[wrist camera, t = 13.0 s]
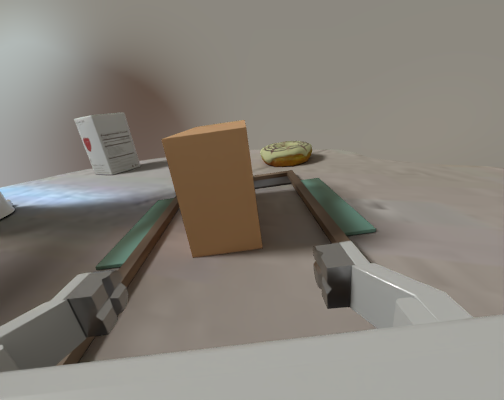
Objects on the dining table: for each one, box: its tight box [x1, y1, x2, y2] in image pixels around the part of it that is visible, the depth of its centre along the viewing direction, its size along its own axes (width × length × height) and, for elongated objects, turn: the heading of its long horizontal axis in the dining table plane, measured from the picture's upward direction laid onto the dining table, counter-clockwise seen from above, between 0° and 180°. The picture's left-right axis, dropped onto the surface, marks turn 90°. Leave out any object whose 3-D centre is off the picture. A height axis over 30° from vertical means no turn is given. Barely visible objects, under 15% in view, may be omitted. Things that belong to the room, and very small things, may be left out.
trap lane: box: [56, 170, 376, 366], centre depth 22 cm, size 24×37×1 cm, turn 2°
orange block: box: [162, 120, 263, 258], centre depth 25 cm, size 6×14×10 cm, turn 2°
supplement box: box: [74, 113, 140, 175], centre depth 64 cm, size 9×9×15 cm
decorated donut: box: [260, 141, 312, 167], centre depth 49 cm, size 10×11×4 cm
